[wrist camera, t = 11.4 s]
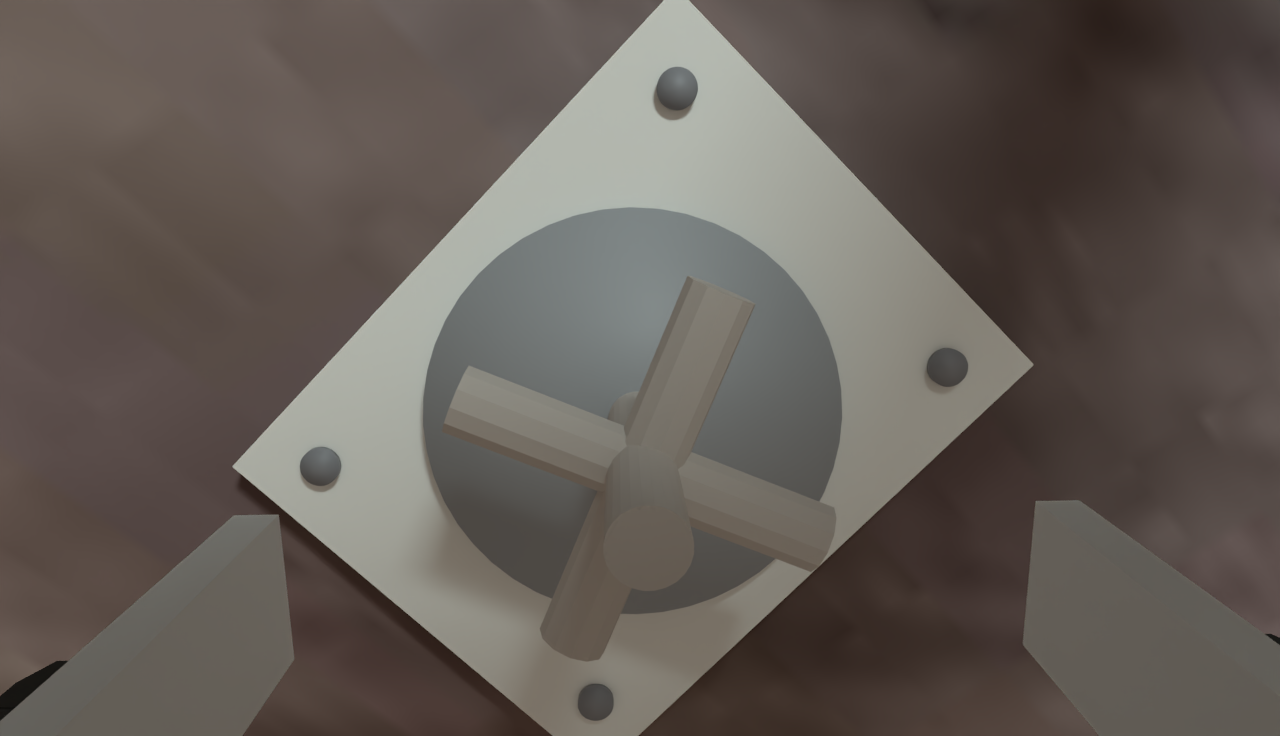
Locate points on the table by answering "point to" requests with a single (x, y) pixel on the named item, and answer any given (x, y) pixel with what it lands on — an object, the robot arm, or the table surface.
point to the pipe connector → (643, 472)
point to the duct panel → (634, 372)
